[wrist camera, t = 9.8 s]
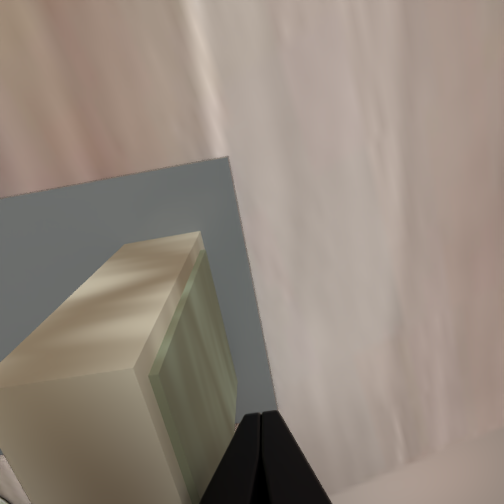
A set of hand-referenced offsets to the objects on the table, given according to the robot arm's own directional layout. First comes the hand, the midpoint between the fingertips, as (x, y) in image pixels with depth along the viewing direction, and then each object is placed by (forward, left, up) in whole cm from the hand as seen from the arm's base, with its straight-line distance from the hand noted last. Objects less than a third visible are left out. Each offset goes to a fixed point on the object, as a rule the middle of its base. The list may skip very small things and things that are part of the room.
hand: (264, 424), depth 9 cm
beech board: (+3, 0, -6) cm, 7 cm away
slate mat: (+7, 0, -7) cm, 10 cm away
